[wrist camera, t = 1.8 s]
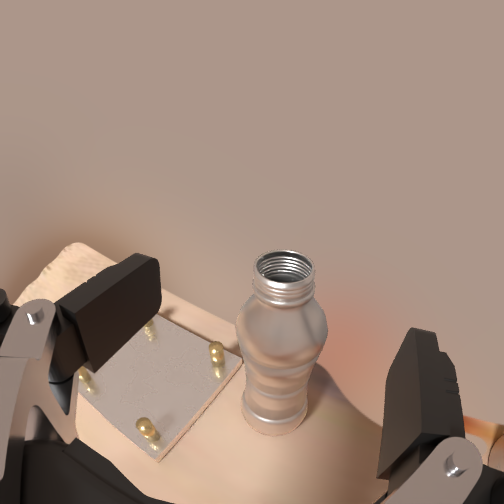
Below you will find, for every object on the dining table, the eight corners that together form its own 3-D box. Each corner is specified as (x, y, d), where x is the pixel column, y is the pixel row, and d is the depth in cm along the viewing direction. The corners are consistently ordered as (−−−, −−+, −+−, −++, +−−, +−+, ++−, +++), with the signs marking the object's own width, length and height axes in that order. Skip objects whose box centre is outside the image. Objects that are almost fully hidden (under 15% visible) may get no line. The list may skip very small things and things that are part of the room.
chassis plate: (242, 363, 36) (240, 342, 33) (157, 463, 24) (145, 450, 22) (150, 314, 43) (143, 293, 40) (70, 384, 31) (56, 364, 29)
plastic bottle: (255, 384, 33) (251, 230, 22) (311, 400, 31) (346, 248, 20) (232, 430, 28) (208, 285, 17) (294, 449, 26) (329, 314, 15)
